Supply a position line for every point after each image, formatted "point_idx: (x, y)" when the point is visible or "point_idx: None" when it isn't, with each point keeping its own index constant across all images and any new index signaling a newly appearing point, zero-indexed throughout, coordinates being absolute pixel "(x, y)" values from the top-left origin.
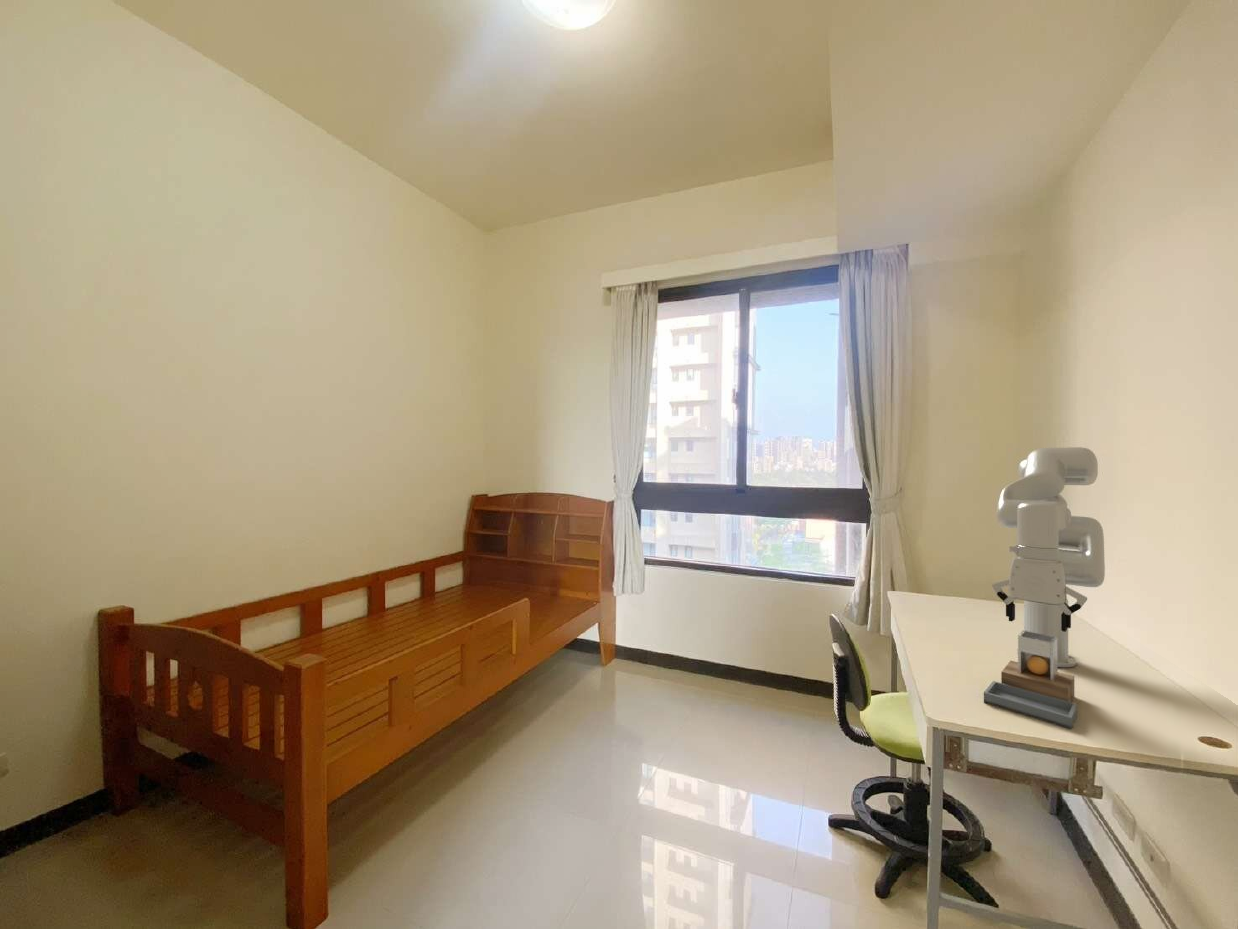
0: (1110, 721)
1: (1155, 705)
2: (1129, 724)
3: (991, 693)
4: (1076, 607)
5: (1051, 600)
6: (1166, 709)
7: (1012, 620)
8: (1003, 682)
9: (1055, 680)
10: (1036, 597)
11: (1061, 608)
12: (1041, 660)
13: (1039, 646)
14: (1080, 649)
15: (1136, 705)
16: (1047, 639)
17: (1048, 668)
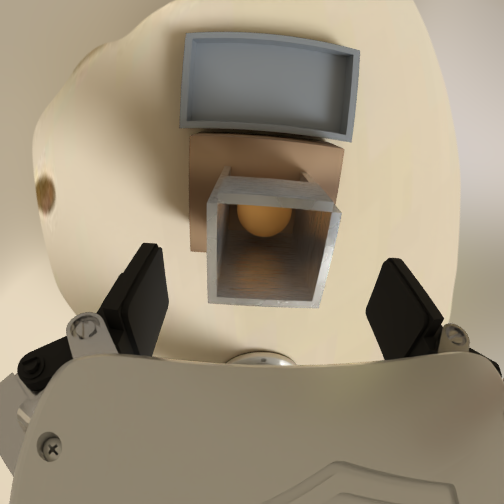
0: (138, 149)
1: (110, 287)
2: (115, 163)
3: (345, 91)
4: (34, 361)
5: (135, 396)
6: (98, 281)
7: (386, 261)
8: (331, 144)
9: None
10: (313, 414)
11: (109, 352)
12: (254, 207)
13: (258, 188)
14: None
15: (124, 268)
16: (239, 289)
17: (237, 207)
